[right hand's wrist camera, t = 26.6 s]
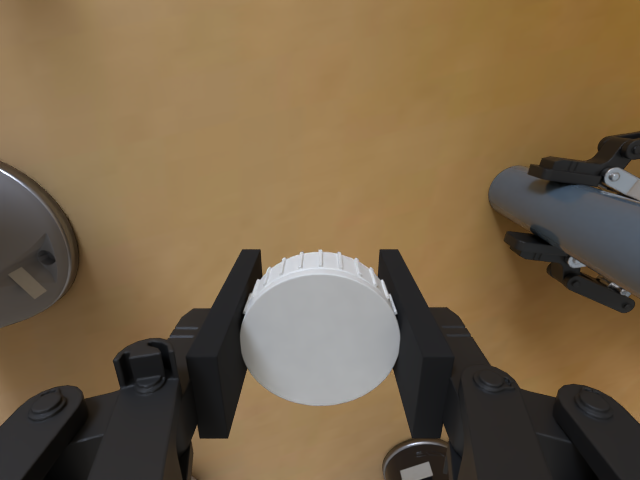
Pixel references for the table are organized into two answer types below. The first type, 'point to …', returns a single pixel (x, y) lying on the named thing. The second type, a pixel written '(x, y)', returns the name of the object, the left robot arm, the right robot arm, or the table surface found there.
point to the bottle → (575, 222)
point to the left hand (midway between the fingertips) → (523, 207)
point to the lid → (320, 329)
